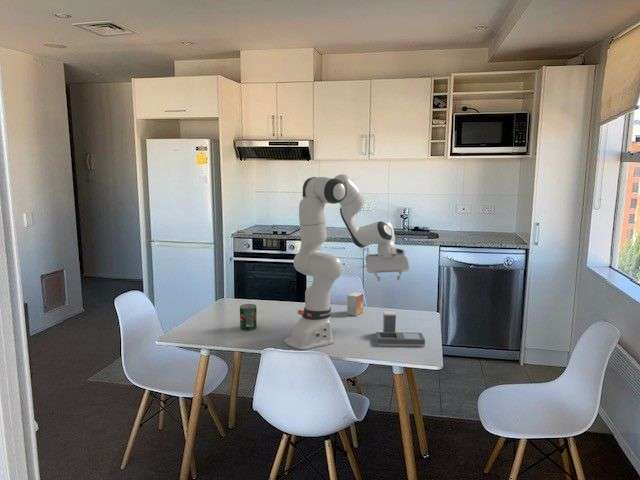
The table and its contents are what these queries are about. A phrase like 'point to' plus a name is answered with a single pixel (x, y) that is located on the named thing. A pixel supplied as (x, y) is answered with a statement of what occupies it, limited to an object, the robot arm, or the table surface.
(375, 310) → the table surface
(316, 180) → the robot arm
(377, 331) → the tray
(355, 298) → the small box
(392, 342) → the gray rectangular base
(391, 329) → the plug
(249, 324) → the canned tomato
